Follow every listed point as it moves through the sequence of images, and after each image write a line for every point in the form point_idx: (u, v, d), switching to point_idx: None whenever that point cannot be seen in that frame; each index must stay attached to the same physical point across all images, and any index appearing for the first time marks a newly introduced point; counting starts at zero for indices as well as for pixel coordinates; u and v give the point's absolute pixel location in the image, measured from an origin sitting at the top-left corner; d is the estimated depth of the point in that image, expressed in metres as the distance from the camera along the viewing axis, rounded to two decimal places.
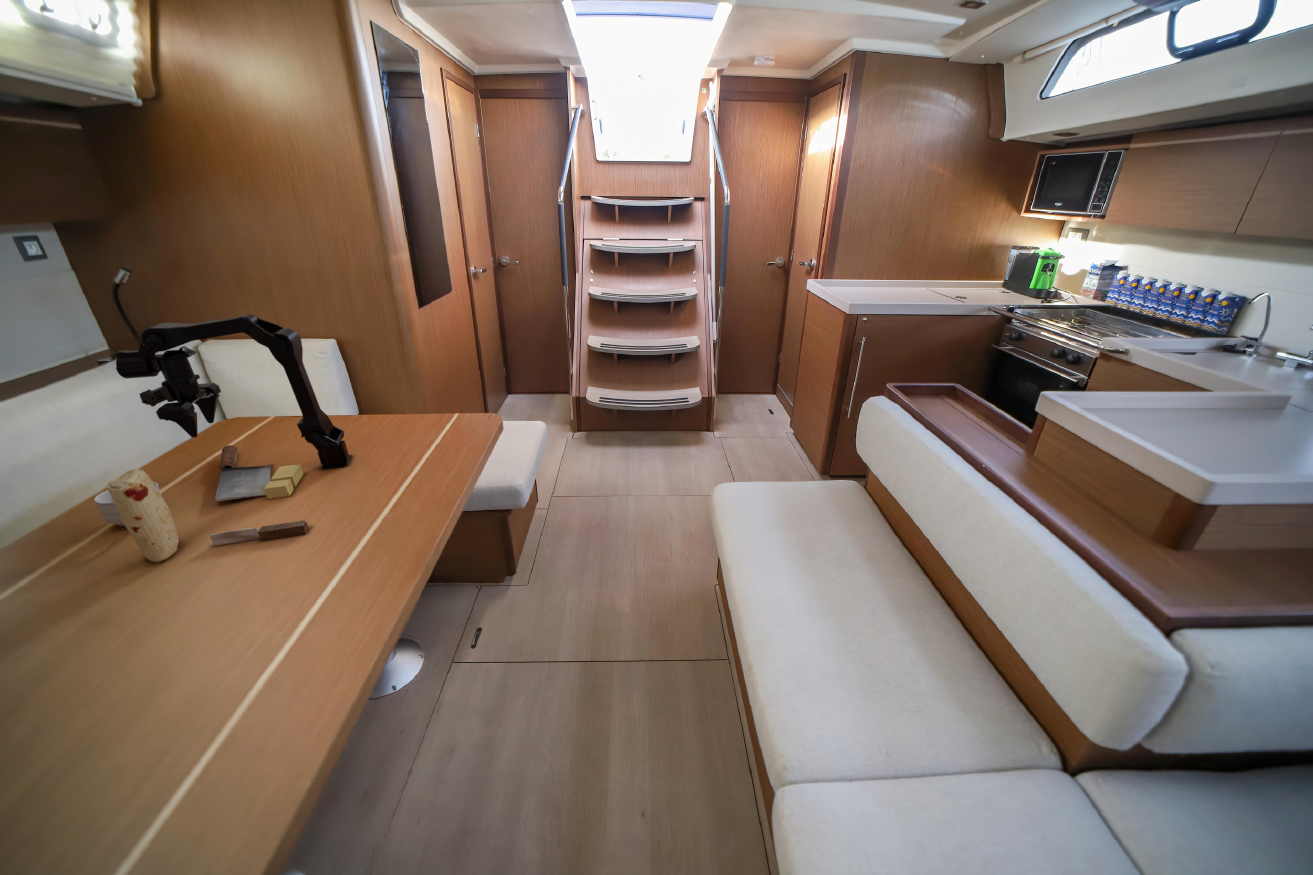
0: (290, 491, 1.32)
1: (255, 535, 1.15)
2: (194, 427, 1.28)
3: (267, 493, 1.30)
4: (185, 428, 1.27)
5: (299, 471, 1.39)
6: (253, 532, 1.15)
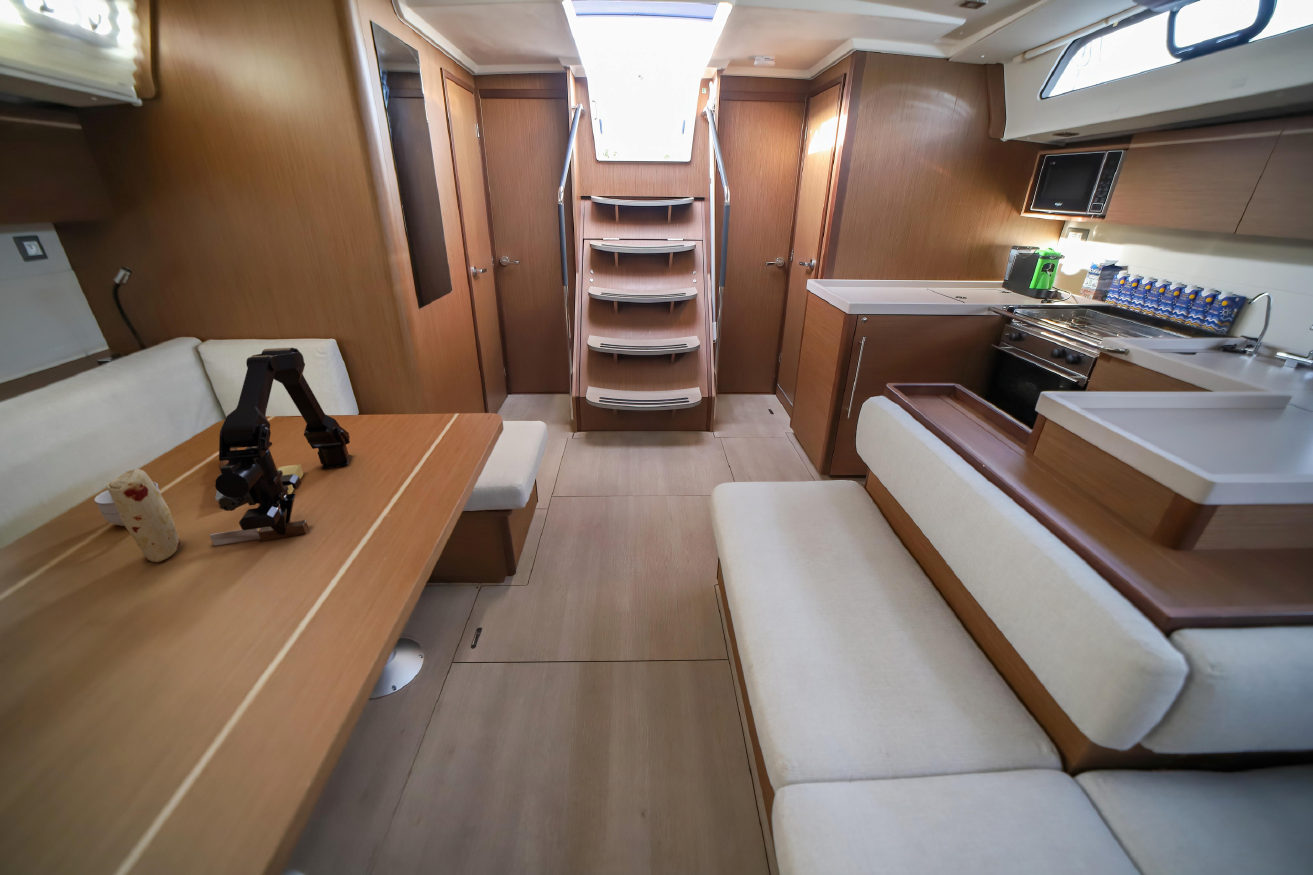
0: (290, 491, 1.32)
1: (255, 535, 1.15)
2: (283, 525, 1.14)
3: None
4: (273, 526, 1.13)
5: (299, 471, 1.39)
6: (253, 532, 1.15)
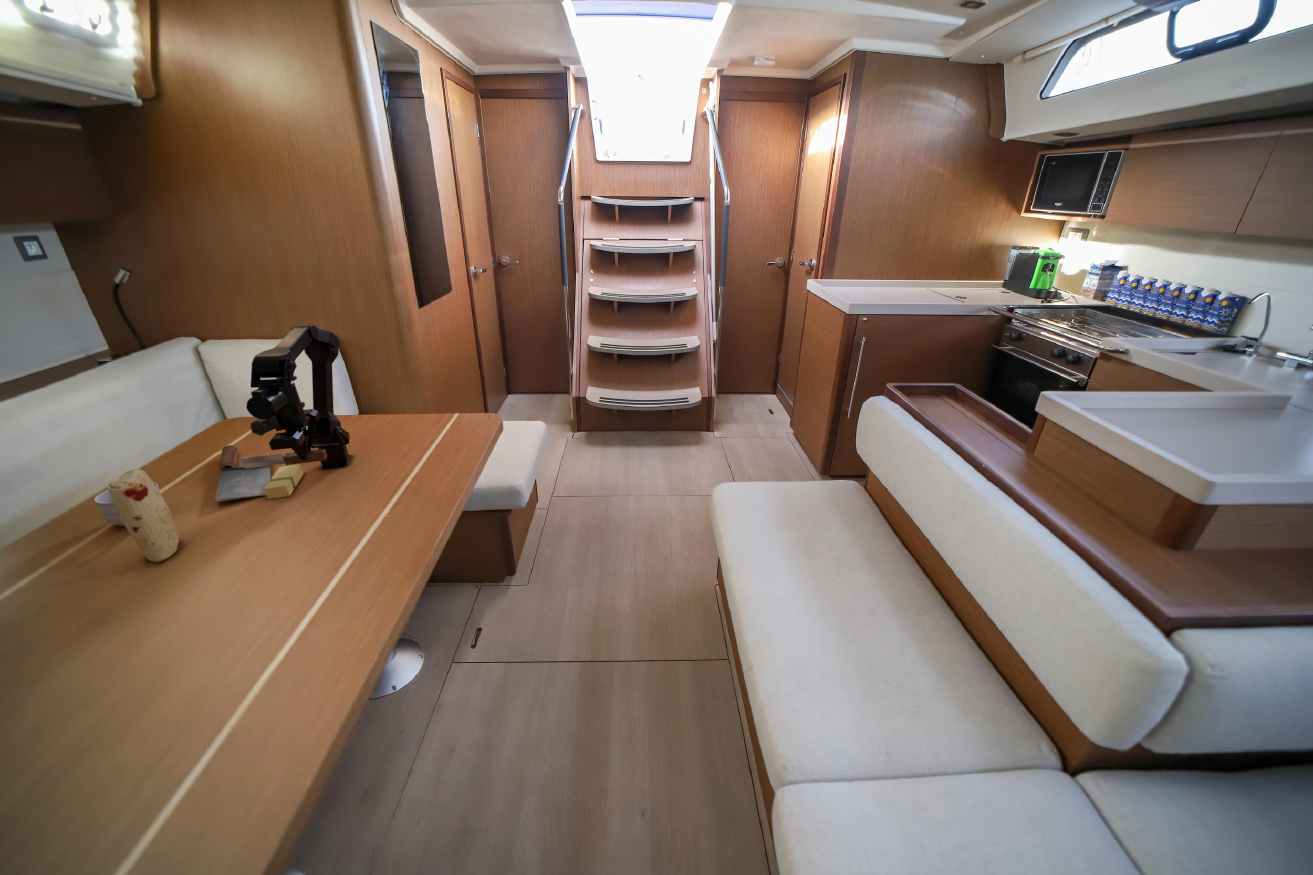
0: (290, 491, 1.32)
1: (280, 460, 1.30)
2: (305, 450, 1.29)
3: (267, 493, 1.30)
4: (297, 451, 1.28)
5: (299, 471, 1.39)
6: (279, 458, 1.29)
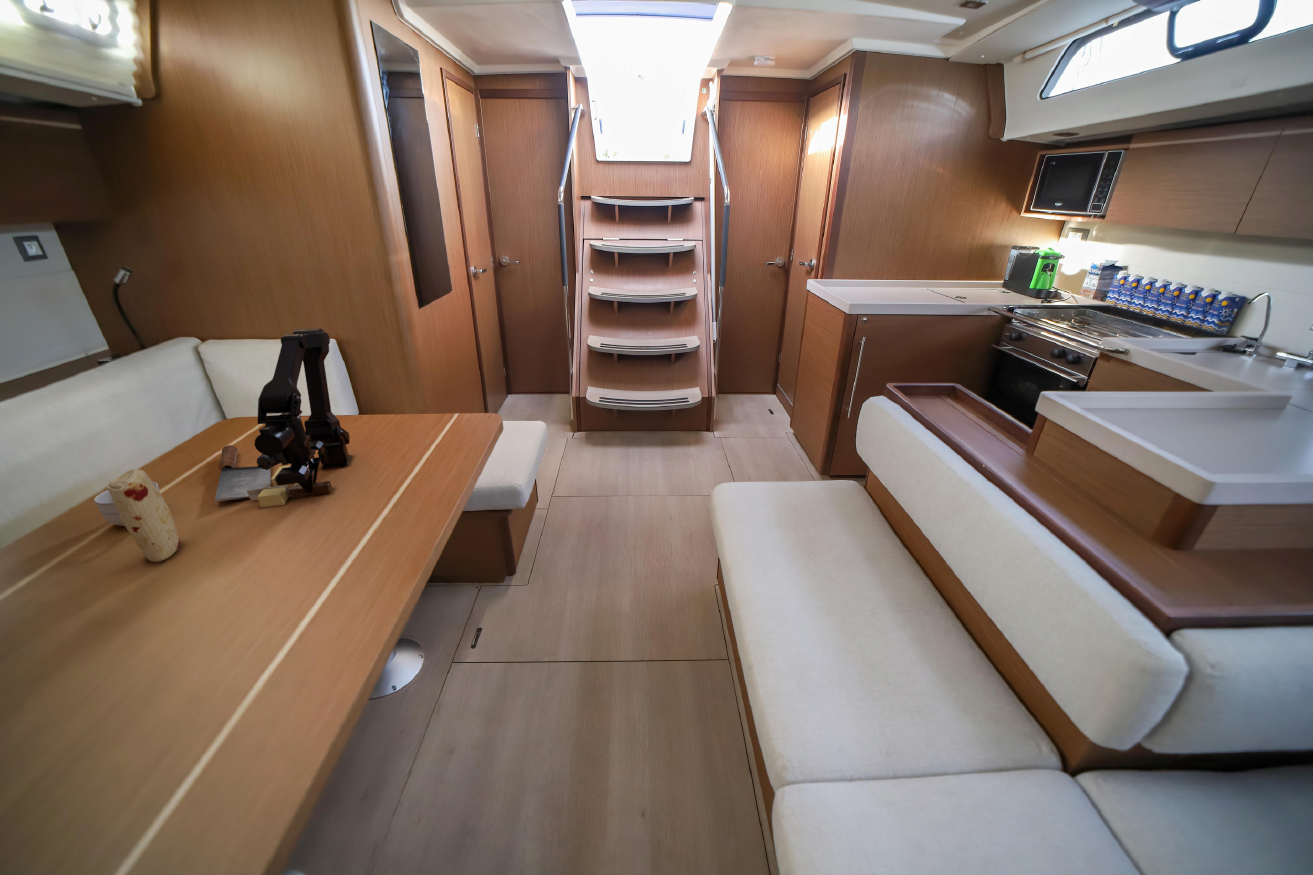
0: (284, 499, 1.29)
1: None
2: (310, 483, 1.29)
3: (261, 501, 1.26)
4: (302, 485, 1.29)
5: None
6: None
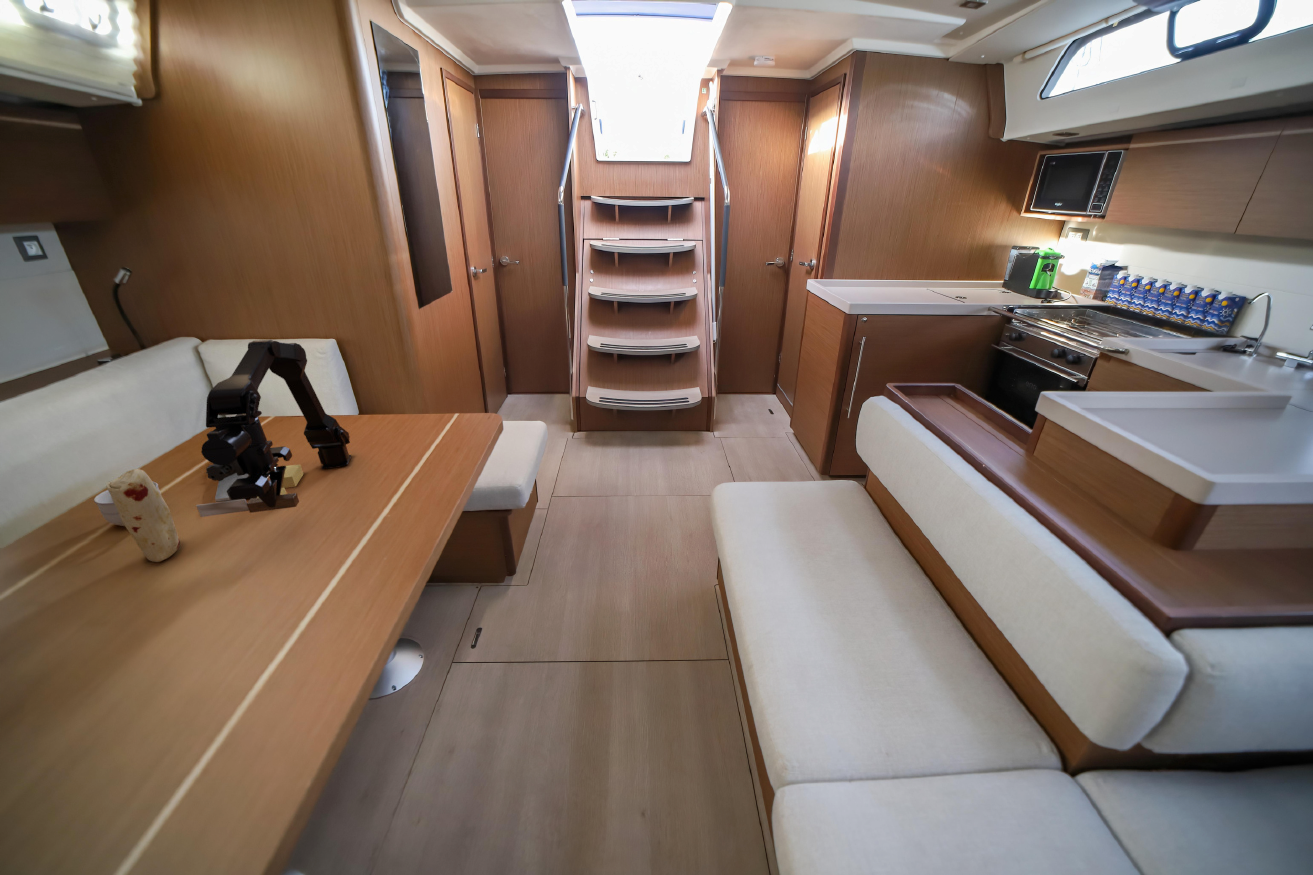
0: None
1: (244, 507, 1.12)
2: (273, 496, 1.11)
3: None
4: (263, 498, 1.10)
5: (299, 471, 1.39)
6: (241, 504, 1.11)
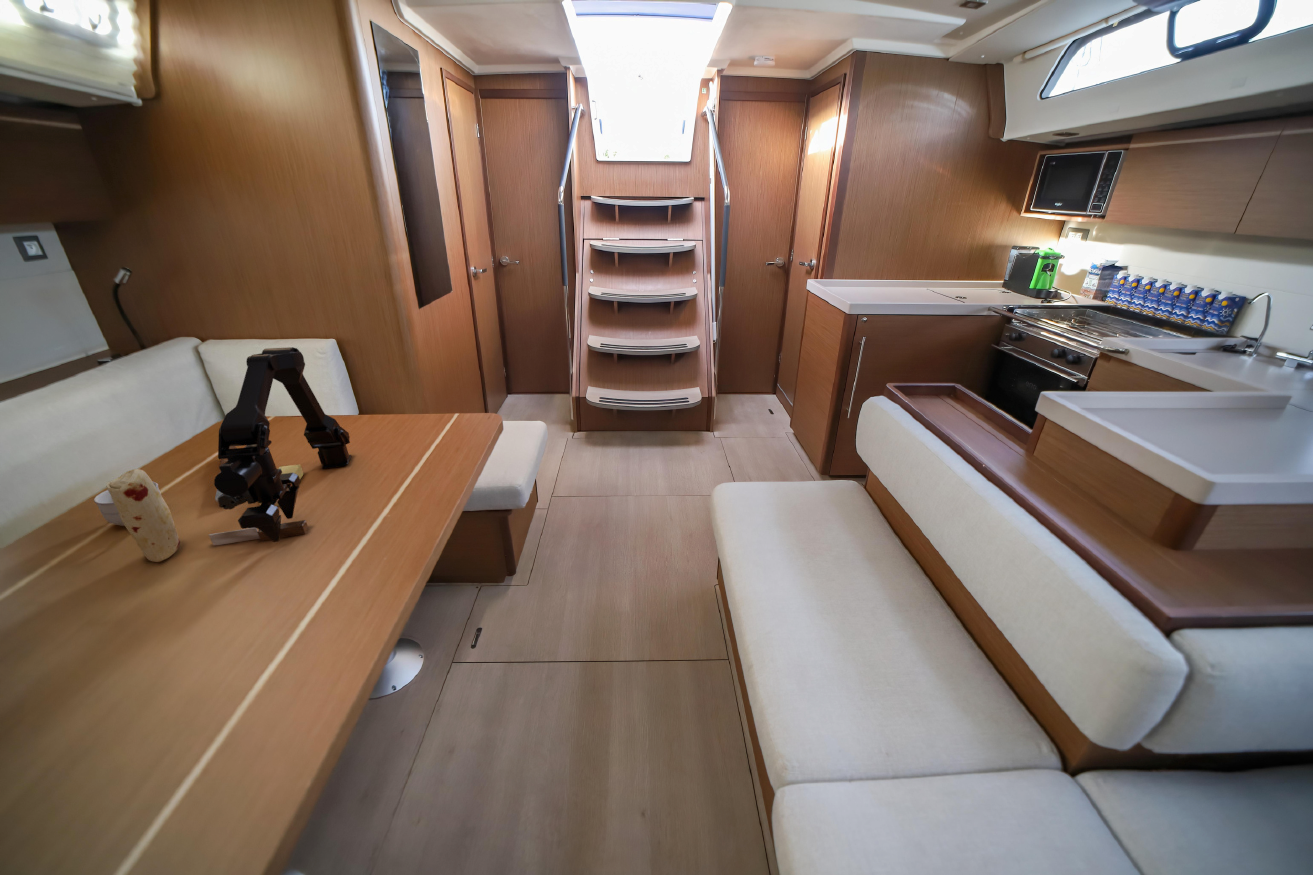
0: None
1: (254, 535, 1.15)
2: (277, 531, 1.11)
3: None
4: (267, 533, 1.10)
5: (299, 471, 1.39)
6: (252, 532, 1.15)
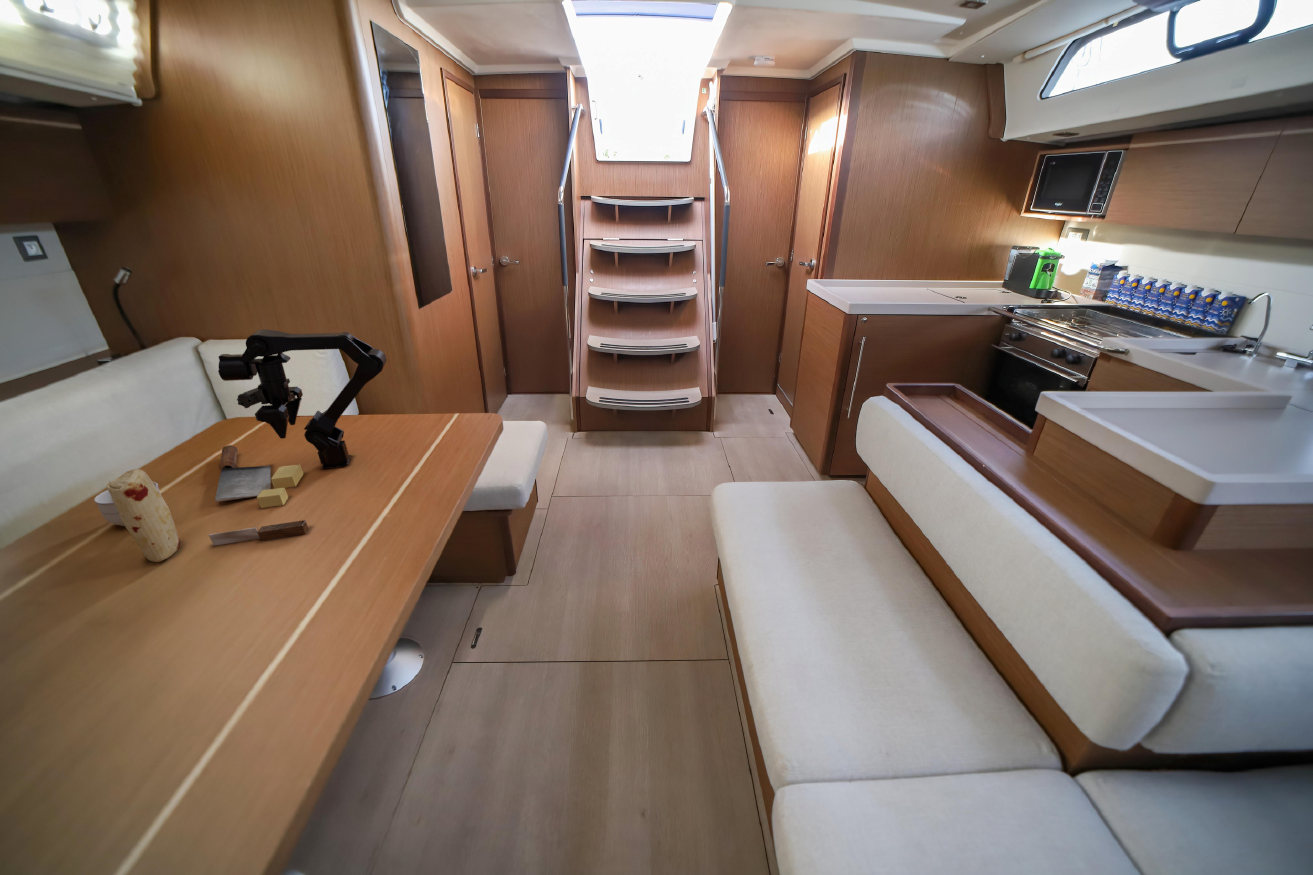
0: (284, 500, 1.29)
1: (254, 535, 1.15)
2: (284, 429, 1.34)
3: (260, 502, 1.26)
4: (276, 429, 1.34)
5: (299, 471, 1.39)
6: (252, 532, 1.15)
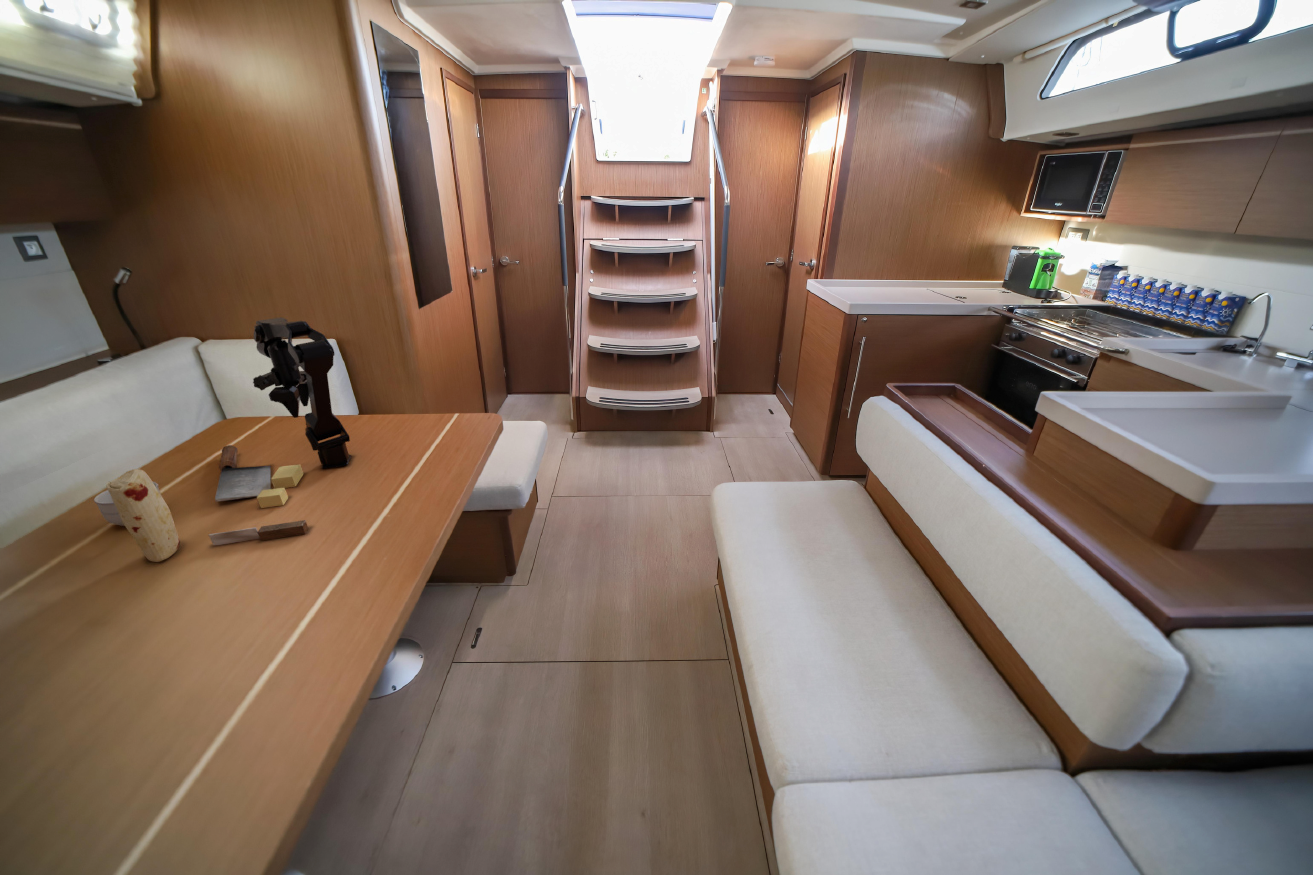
0: (284, 500, 1.29)
1: (254, 535, 1.15)
2: (297, 408, 1.46)
3: (260, 502, 1.26)
4: (289, 409, 1.45)
5: (299, 471, 1.39)
6: (252, 532, 1.15)
